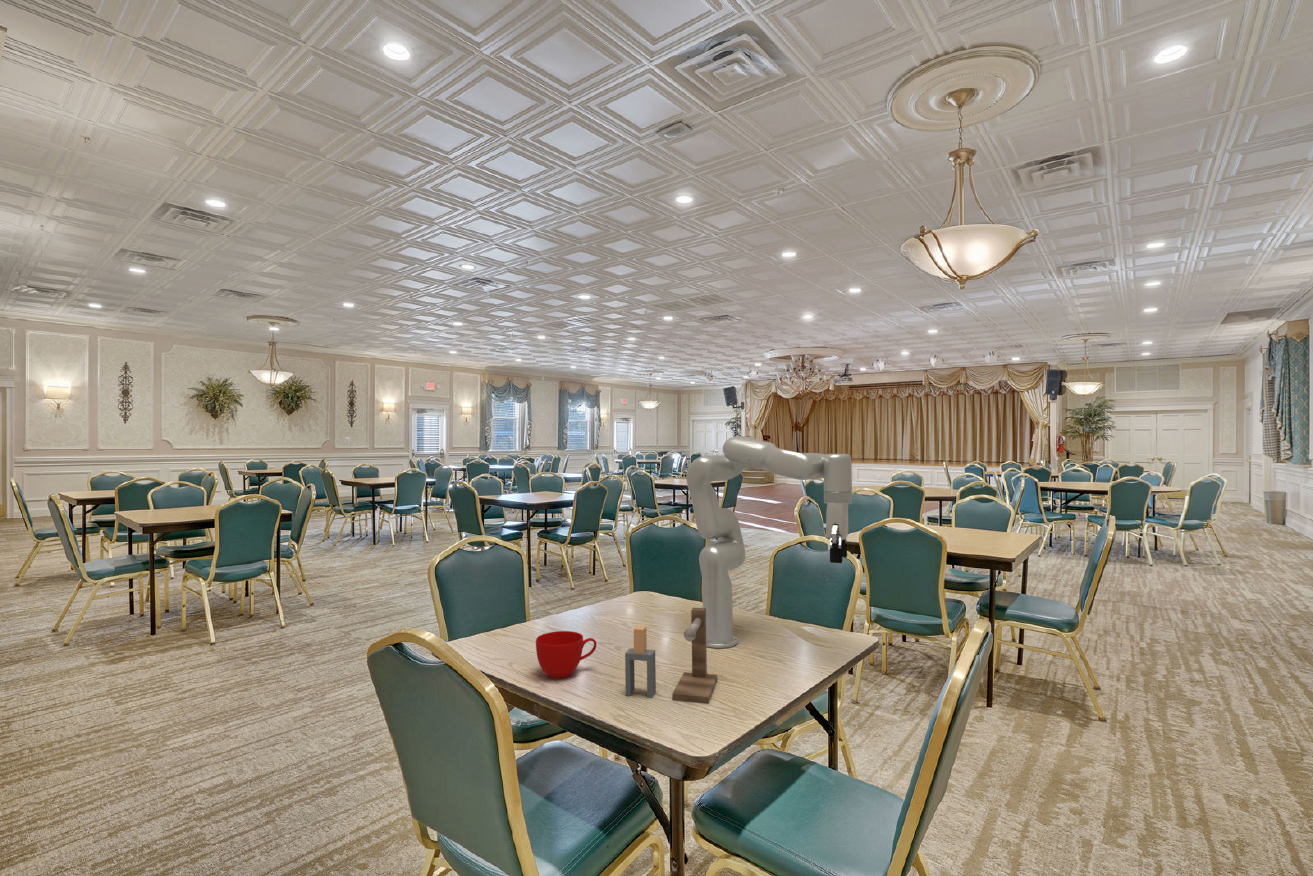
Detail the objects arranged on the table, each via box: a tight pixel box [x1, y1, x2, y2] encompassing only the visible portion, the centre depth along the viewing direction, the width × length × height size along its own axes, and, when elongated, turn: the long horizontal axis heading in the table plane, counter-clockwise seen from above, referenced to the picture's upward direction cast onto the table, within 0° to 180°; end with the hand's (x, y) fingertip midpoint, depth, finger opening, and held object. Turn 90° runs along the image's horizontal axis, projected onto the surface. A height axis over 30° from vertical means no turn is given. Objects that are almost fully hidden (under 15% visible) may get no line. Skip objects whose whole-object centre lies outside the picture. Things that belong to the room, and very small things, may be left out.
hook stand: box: [671, 607, 718, 704], centre depth 150 cm, size 16×9×19 cm, turn 166°
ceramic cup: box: [535, 630, 597, 679], centre depth 163 cm, size 13×17×10 cm
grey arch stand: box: [624, 625, 657, 699], centre depth 149 cm, size 7×4×16 cm, turn 76°
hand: (838, 559), depth 163 cm, fingers open, 9 cm apart
